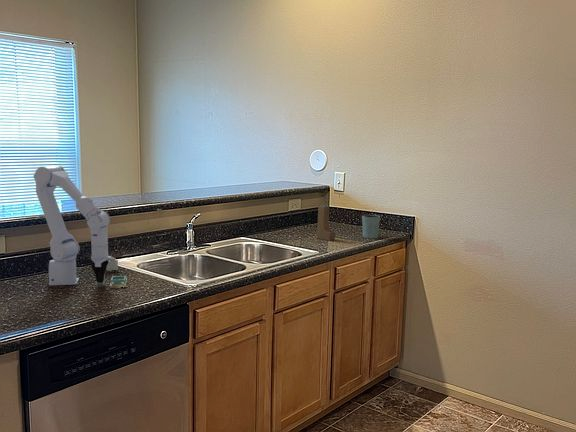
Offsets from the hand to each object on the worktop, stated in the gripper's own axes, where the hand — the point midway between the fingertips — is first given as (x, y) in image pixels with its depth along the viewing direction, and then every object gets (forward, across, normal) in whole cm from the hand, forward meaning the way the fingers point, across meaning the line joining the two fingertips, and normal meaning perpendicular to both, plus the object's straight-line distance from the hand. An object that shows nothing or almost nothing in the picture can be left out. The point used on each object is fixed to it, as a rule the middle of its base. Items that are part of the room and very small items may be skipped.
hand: (100, 281), depth 206 cm
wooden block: (+2, +76, -109) cm, 133 cm away
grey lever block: (+2, +22, -1) cm, 22 cm away
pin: (+2, 0, 0) cm, 2 cm away
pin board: (+2, +2, -6) cm, 7 cm away
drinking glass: (+2, +80, -136) cm, 158 cm away
